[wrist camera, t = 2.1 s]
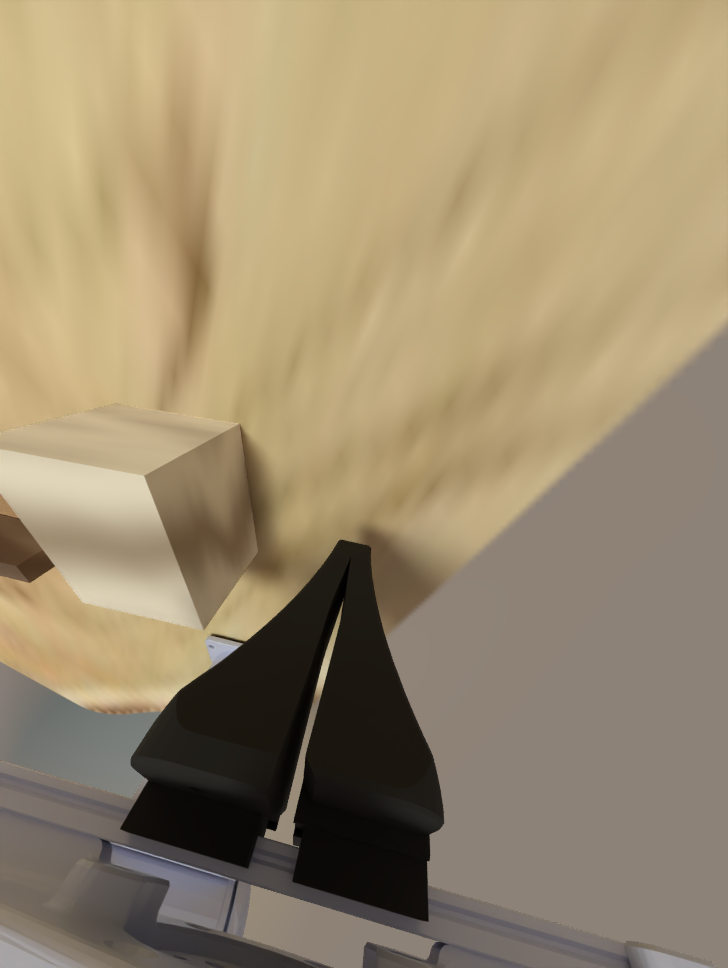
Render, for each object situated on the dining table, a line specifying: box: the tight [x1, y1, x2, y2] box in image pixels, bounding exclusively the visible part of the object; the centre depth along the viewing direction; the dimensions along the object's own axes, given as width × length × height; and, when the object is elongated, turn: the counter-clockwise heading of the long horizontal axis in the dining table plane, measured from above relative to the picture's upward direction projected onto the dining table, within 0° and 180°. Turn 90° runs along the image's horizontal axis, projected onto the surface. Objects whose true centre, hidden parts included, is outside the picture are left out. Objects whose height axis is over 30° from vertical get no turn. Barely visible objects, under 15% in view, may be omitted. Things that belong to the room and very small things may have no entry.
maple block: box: [0, 403, 258, 630], centre depth 12 cm, size 8×6×5 cm
